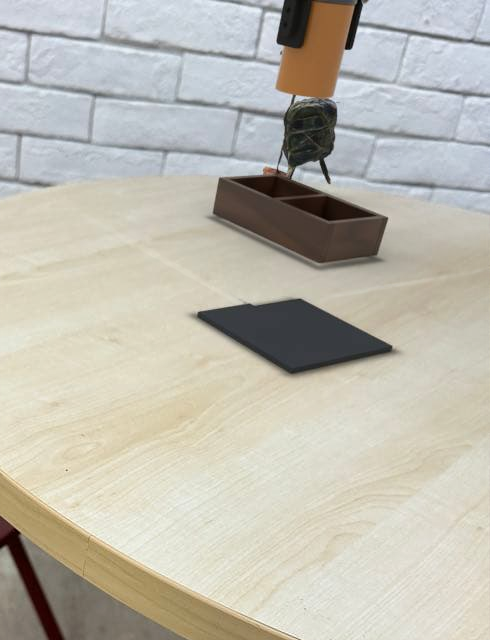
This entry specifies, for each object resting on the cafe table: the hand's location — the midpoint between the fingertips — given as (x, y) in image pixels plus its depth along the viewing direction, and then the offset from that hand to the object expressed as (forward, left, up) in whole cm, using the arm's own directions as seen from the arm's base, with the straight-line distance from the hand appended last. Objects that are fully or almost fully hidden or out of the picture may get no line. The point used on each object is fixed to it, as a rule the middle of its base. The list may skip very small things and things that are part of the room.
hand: (314, 45), depth 85 cm
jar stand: (-3, 0, -19) cm, 19 cm away
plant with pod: (-16, -15, -19) cm, 29 cm away
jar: (0, 0, -4) cm, 4 cm away
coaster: (+17, +21, -19) cm, 34 cm away
